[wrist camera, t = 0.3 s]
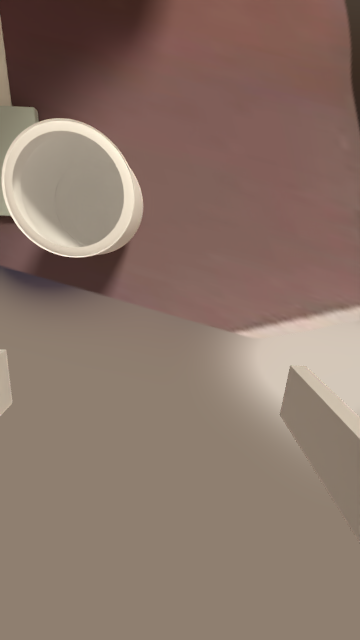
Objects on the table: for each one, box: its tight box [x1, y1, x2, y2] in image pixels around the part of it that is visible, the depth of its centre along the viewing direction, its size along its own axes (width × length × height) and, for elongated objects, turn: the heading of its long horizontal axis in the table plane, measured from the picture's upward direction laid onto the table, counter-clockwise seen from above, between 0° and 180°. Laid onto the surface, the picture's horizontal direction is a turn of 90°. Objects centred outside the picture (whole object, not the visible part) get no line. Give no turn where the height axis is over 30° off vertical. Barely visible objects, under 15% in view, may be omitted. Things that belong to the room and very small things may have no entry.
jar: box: [2, 118, 143, 257], centre depth 29 cm, size 11×10×15 cm
